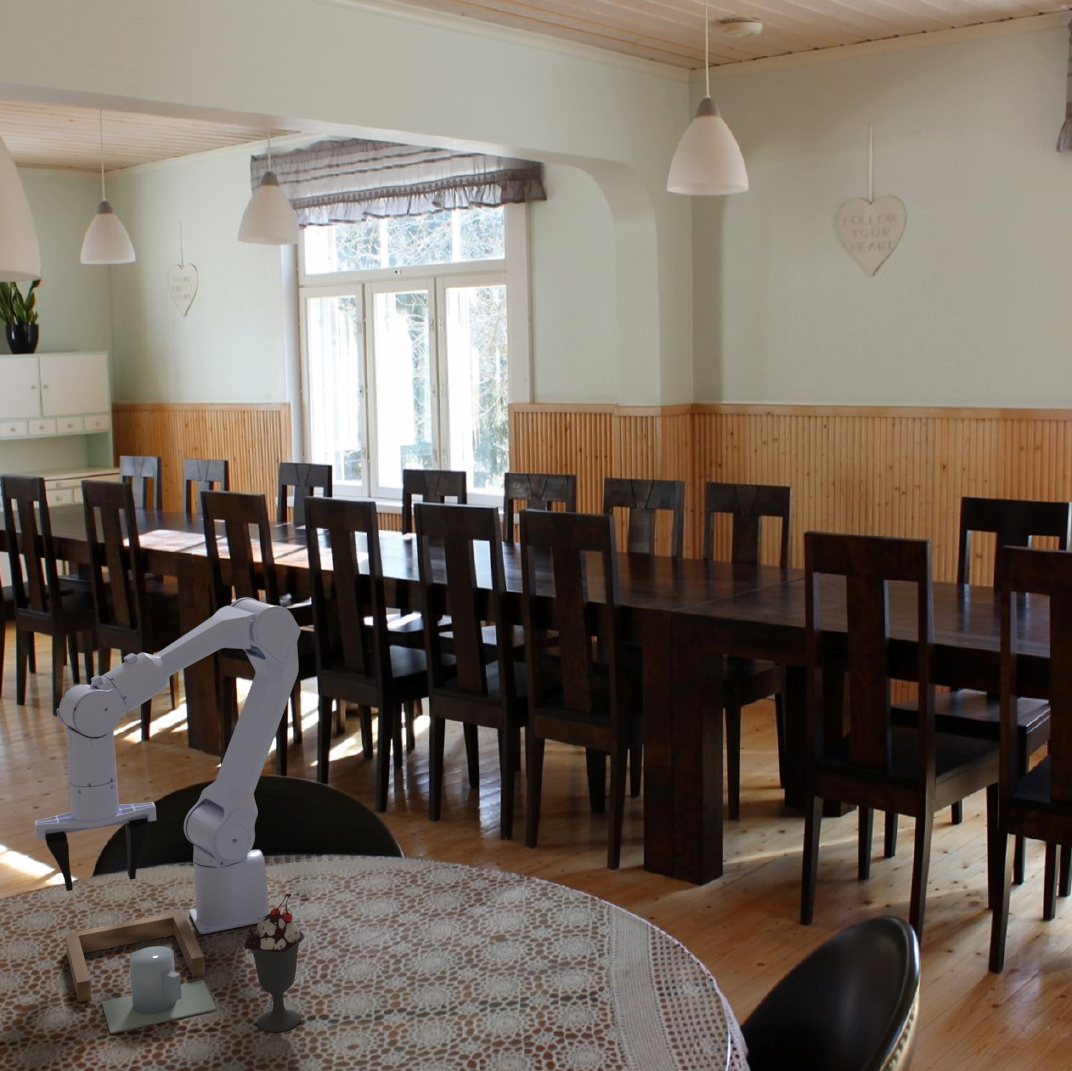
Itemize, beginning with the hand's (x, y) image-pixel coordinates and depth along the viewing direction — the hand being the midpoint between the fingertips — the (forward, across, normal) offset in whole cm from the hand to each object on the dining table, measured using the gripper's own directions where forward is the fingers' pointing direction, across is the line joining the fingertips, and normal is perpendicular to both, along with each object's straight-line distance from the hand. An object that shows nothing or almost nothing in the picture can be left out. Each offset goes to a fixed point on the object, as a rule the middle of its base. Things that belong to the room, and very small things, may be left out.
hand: (100, 882), depth 166 cm
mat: (+10, -4, +17) cm, 20 cm away
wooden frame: (+10, -3, +4) cm, 11 cm away
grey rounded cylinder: (+10, -4, +16) cm, 19 cm away
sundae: (+10, -16, +27) cm, 33 cm away
